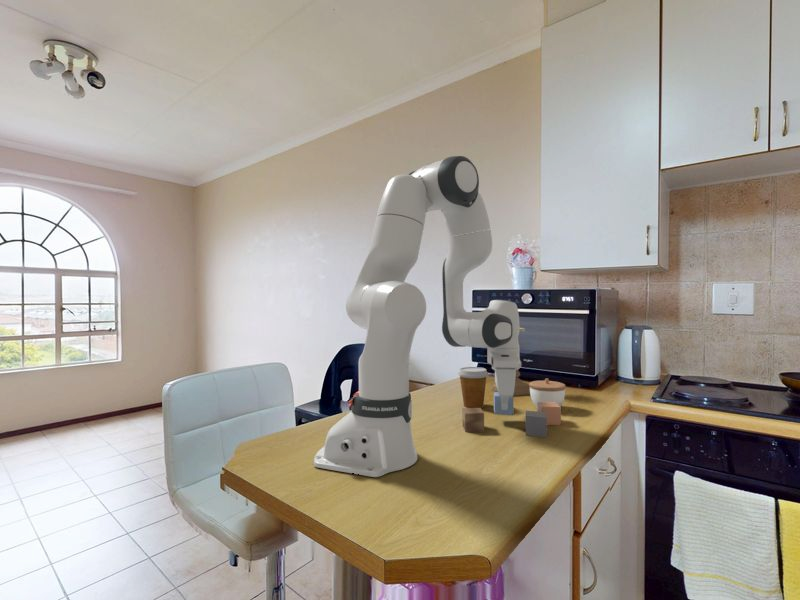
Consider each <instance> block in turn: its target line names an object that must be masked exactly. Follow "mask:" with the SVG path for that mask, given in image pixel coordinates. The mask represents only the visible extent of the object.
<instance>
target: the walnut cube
mask: <svg viewBox="0 0 800 600" xmlns="http://www.w3.org/2000/svg"><path fill="white" fill-rule="evenodd" d="M461 409H462V410H461V411H462V412H461V415H462V417H461V418H462V421H461V422H462V427H463V430H464V432H465V433H485V412H484V411H483V410H482V407H481V408H468V407H462V408H461Z"/></svg>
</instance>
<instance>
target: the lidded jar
mask: <svg viewBox="0 0 800 600" xmlns="http://www.w3.org/2000/svg"><path fill="white" fill-rule="evenodd" d="M528 385H529V387H530V400H531V402H532V404H534V406H536V408H537V409H538V405H537V402H556V403H557V404H558V405H559V406H560V407H561V406H562V405H563V403H564V402H565V399H566V398H565V396H566V384H565V383H563V382H559V381H556V380H555V381H553V380H549V378H545V379H544V380H533V381H531V382H529V383H528Z"/></svg>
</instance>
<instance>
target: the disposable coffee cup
mask: <svg viewBox="0 0 800 600" xmlns="http://www.w3.org/2000/svg"><path fill="white" fill-rule="evenodd" d="M488 375H489V373H488V371H487V369H486V368H484V367H480V366H479V367H477V366H465V367H461V368H459V370H458V376H459V378H460V387H461V394H462V401H463V403H462V404H463V406H464V408H481V409H482V408H483V407H484V403H485V394H486V392H485V391H486V384H487V377H488Z"/></svg>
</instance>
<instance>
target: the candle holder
mask: <svg viewBox="0 0 800 600" xmlns="http://www.w3.org/2000/svg"><path fill="white" fill-rule="evenodd" d="M519 330H520V331H519V333H521V332H525V330H526V328H525V327H519ZM521 367H522V360H520V364H518V368H516V377H515V388H514V395H513V397H515V396H516V397H517V396H528V395H530V387H529V383H526V382H524V381H523V380H522V379H520V378H519V377H520V376H521V372H520V371H519V369H520V368H521ZM491 386H492V387H491V389H492V391H493V392H498V390H497V387H496V383H495V382H494V384H492V385H491Z"/></svg>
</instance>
